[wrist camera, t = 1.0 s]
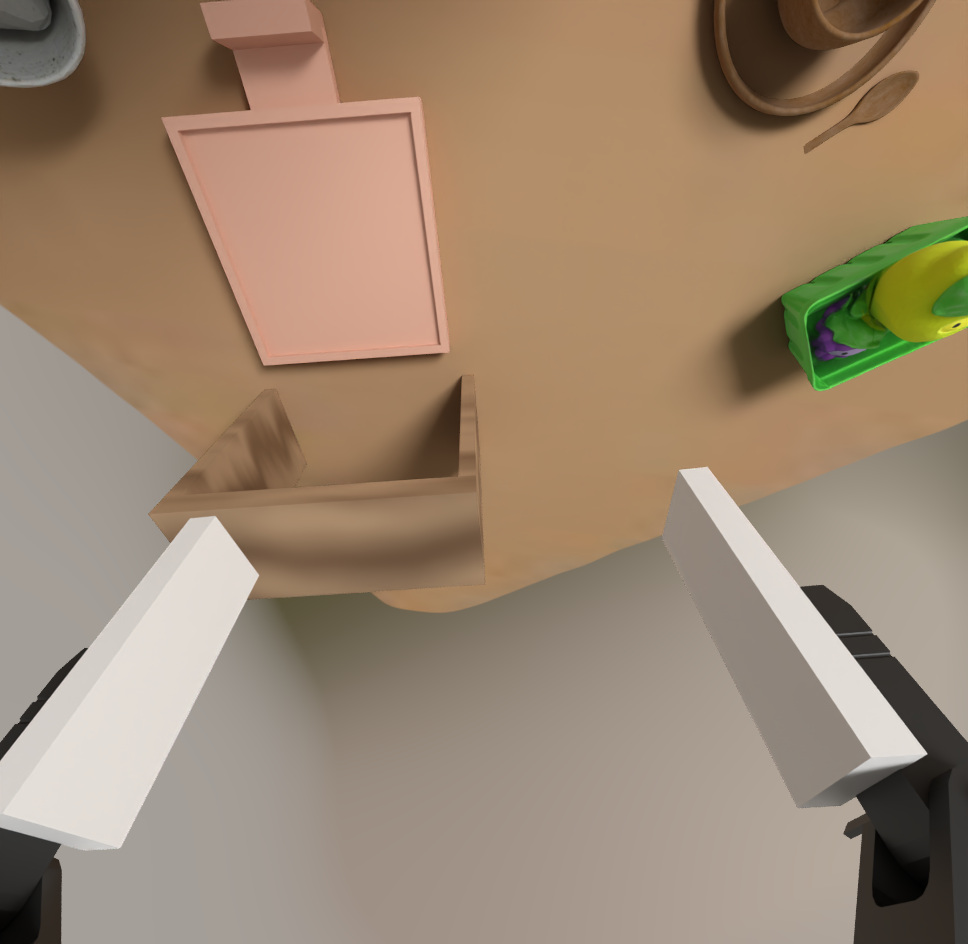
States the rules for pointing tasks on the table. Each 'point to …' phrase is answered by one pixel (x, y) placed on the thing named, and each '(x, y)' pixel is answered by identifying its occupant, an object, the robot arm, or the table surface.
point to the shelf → (333, 513)
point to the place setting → (828, 25)
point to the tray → (315, 197)
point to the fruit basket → (881, 303)
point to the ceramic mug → (40, 41)
